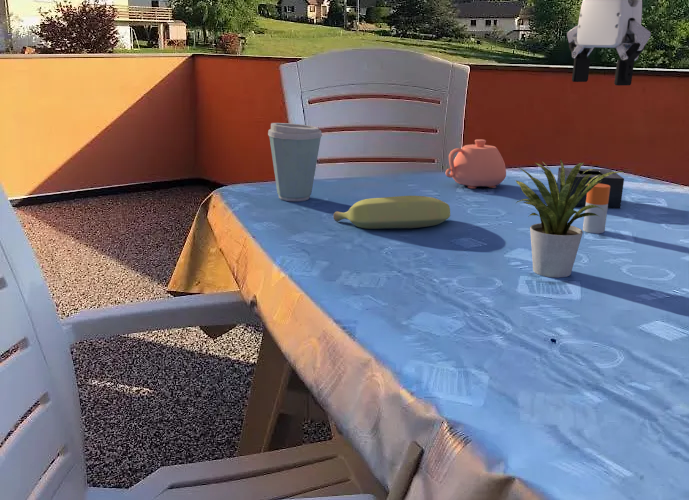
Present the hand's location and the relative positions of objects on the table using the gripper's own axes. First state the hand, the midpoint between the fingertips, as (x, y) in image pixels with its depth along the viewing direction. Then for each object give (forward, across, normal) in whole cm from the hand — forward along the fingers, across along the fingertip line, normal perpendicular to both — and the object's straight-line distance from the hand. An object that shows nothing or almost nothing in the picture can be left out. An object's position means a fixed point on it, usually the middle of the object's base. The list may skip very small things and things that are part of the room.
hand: (600, 83), depth 120 cm
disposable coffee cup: (+25, +38, +40) cm, 61 cm away
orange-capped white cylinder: (+24, -5, +2) cm, 25 cm away
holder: (+24, +13, -14) cm, 31 cm away
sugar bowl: (+25, +36, -2) cm, 44 cm away
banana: (+25, +13, +32) cm, 43 cm away
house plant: (+25, -20, +24) cm, 40 cm away
